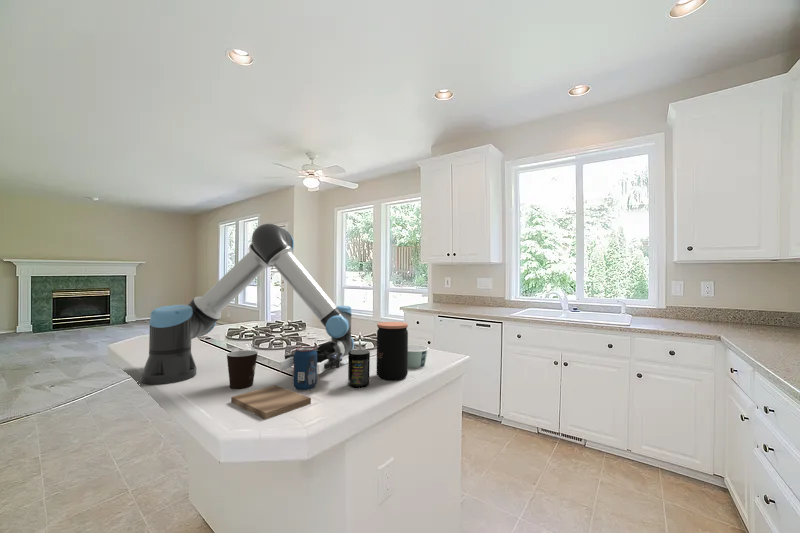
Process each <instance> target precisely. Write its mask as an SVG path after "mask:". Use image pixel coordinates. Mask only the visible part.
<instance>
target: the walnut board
mask: <svg viewBox="0 0 800 533" xmlns="http://www.w3.org/2000/svg"><path fill="white" fill-rule="evenodd" d="M311 400H312V398H311V397H309V396H306V395H304V394H302V393H299V392H296V391H293V390H290V389H287V388H284V387H281V386H280V385H276V384H275V385H271V386H266V387H263V388H259V389H256V390H252V391H248V392H244V393H241V394H237V395H233V396H230V403H231V404H233V405H235V406H237V407H239V408H241V409H244V410H245V411H247V410H248V411H247V412H249V411H250V412H249V413H251V412H252V414H253V413H254V415H255V416H258V417H260V418H262V419H264V420H268V419H271V418H273V417H277V416H279V415H283V414H285V413H288V412H291V411H294V410H297V409H299V408H303V407H304V406H305V407H306V406H308V405H311V404H312V401H311Z"/></svg>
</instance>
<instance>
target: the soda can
mask: <svg viewBox="0 0 800 533" xmlns="http://www.w3.org/2000/svg"><path fill="white" fill-rule="evenodd" d="M316 350H317V349H316V347H315V346H309V345H308V346H307V345H306V346H299V347H297V348H295V351H294V353H293V354H294V364H293V371H292V372H293V375H292V377H293V378H292V379H293V380H292V381H293V382H292V384H293V387H294V389H295V390H296V391H299V392H306V391H311V389H312V390H313V389H315V387H316V386H317V384H318V374H317V364H318V362H317V352H316Z"/></svg>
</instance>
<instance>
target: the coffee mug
mask: <svg viewBox="0 0 800 533" xmlns="http://www.w3.org/2000/svg"><path fill="white" fill-rule="evenodd" d="M257 358H258V351H257V350H249V349H248V350H247V349H246V350H236V351H231V352H228V353H227V354H226V361H227V369H228V380H229V388H230V389H231V390H245V389H249V388H251V387H253V385H254V381H255V379H254V378H255V373H256V367H257Z"/></svg>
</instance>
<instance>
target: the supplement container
mask: <svg viewBox="0 0 800 533" xmlns="http://www.w3.org/2000/svg"><path fill="white" fill-rule="evenodd" d="M347 358H348V362H347V365H348V367H347V370H348V371H347V374H348V375H347V384H348V386H349V388H351V389H358V390H359V389H363V388H368V386H369V384H370V366H371V365H370V364H371V363H370V361H371V359H370V358H371V351H369V350H367V349H353V350H352V351H349V352H348V355H347Z"/></svg>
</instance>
